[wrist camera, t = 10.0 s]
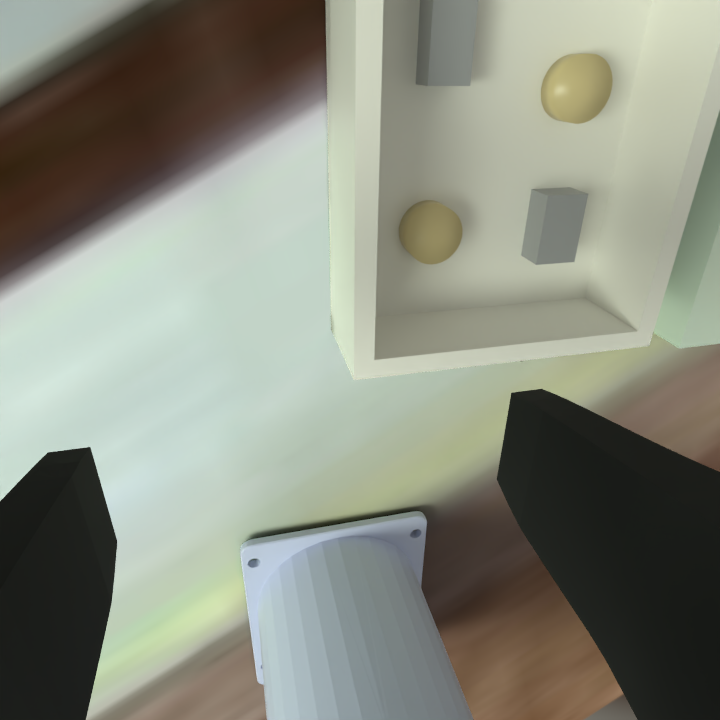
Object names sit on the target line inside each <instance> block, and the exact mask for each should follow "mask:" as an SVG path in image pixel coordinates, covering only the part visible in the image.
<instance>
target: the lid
mask: <svg viewBox="0 0 720 720" xmlns="http://www.w3.org/2000/svg"><path fill="white" fill-rule="evenodd" d="M653 333H655V334H656V335H658V336H660V337H661V338H663V339H665V340H666V341H668V342H669V343H671V344H673V345H674V346H676V347H677V348H687V347H696V346H704V345H712V344H720V110H719V114H718V117H717V120H716V124H715V127H714V130H713V134H712V137H711V140H710V144H709V147H708V151H707V154H706V157H705V161H704V164H703V167H702V171H701V174H700V177H699V181H698V184H697V187H696V191H695V194H694V198H693V201H692V204H691V208H690V211H689V214H688V218H687V221H686V224H685V228H684V231H683V234H682V238H681V241H680V245H679V248H678V251H677V255H676V258H675V261H674V265H673V268H672V271H671V275H670V278H669V281H668V285H667V288H666V292H665V295H664V298H663V302H662V305H661V308H660V312H659V315H658V318H657V322H656V325H655V328H654V332H653Z"/></svg>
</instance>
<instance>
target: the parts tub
mask: <svg viewBox="0 0 720 720" xmlns="http://www.w3.org/2000/svg"><path fill="white" fill-rule="evenodd" d="M325 2H326V60H327V118H328V176H329V234H330V291H331V330H332V332H333V335H334V337H335V339H336V341H337V344H338V346H339V348H340V350H341V352H342V355H343V357H344V359H345V361H346V364H347V366H348V368H349V370H350V372H351V375H352V377H353V379H354V380H360V379H369V378H377V377H386V376H395V375H403V374H412V373H421V372H429V371H438V370H446V369H455V368H464V367H472V366H481V365H490V364H498V363H507V362H516V361H524V360H533V359H542V358H550V357H559V356H567V355H576V354H585V353H593V352H602V351H611V350H619V349H628V348H637V347H645V346H649V345H650V342H651V339H652V335H653V332H654V328H655V325H656V322H657V318H658V315H659V312H660V308H661V305H662V302H663V298H664V295H665V292H666V288H667V285H668V281H669V278H670V275H671V271H672V268H673V265H674V261H675V258H676V255H677V251H678V248H679V245H680V241H681V238H682V234H683V231H684V228H685V224H686V221H687V218H688V214H689V211H690V208H691V204H692V201H693V198H694V194H695V191H696V187H697V184H698V181H699V177H700V174H701V171H702V167H703V164H704V161H705V157H706V154H707V151H708V147H709V144H710V140H711V137H712V134H713V130H714V127H715V124H716V120H717V117H718V114H719V110H720V0H325Z"/></svg>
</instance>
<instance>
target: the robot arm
mask: <svg viewBox="0 0 720 720" xmlns="http://www.w3.org/2000/svg"><path fill="white" fill-rule="evenodd" d="M497 480H498V483H499V485H500V487H501V489H502V491H503V494H504V496H505V498H506V500H507V502H508V504H509V507H510V508H511V510H512V512H513V514H514V516H515V518H516V520H517V522H518V524H519V526H520V528H521V530H522V531H523V533H524V534H525V536H526V538H527V539H528V541H529V542H530V544H531V545H532V547H533V548H534V550H535V551H536V553H537V555H538V556H539V558H540V559H541V561H542V562H543V564H544V565H545V567H546V568H547V570H548V571H549V573H550V574H551V576H552V577H553V579H554V580H555V582H556V583H557V585H558V586H559V588H560V589H561V591H562V593H563V594H564V596H565V597H566V599H567V600H568V602H569V603H570V605H571V606H572V608H573V609H574V611H575V612H576V614H577V615H578V617H579V618H580V620H581V621H582V623H583V624H584V626H585V627H586V629H587V630H588V632H589V633H590V635H591V636H592V638H593V640H594V641H595V643H596V645H597V646H598V648H599V650H600V651H601V653H602V655H603V656H604V658H605V660H606V661H607V663H608V665H609V667H610V669H611V671H612V672H613V674H614V676H615V678H616V680H617V682H618V684H619V686H620V687H621V689H622V691H623V693H624V695H625V697H626V699H627V700H628V702H629V704H630V706H631V708H632V710H633V712H634V714H635V715H636V717H637V719H638V720H720V472H718V471H716V470H714V469H711V468H709V467H707V466H705V465H702V464H700V463H698V462H695V461H693V460H691V459H689V458H686V457H684V456H682V455H680V454H678V453H676V452H674V451H671V450H669V449H667V448H665V447H663V446H661V445H659V444H657V443H654V442H652V441H650V440H648V439H646V438H644V437H642V436H640V435H638V434H636V433H634V432H632V431H630V430H628V429H626V428H624V427H622V426H620V425H618V424H616V423H614V422H612V421H610V420H608V419H606V418H604V417H602V416H600V415H598V414H596V413H594V412H592V411H590V410H587V409H585V408H583V407H581V406H579V405H577V404H575V403H573V402H571V401H569V400H567V399H564V398H562V397H560V396H558V395H555V394H553V393H551V392H548V391H545V390H543V389H538V390H530V391H522V392H515V393H511V399H510V405H509V411H508V417H507V423H506V429H505V434H504V440H503V446H502V452H501V458H500V464H499V470H498V476H497ZM416 529H417V530H416ZM426 529H427V520H426V518H425V515H424V514H423V513H422V512H420V511H413V512H407V513H401V514H396V515H390V516H384V517H378V518H372V519H367V520H361V521H355V522H349V523H343V524H337V525H332V526H326V527H320V528H314V529H308V530H302V531H297V532H291V533H285V534H279V535H273V536H268V537H262V538H256V539H251V540H248V541H246V542H244V543H243V544H242V545H241V547H240V556H241V563H242V571H243V578H244V586H245V593H246V600H247V608H248V615H249V622H250V630H251V637H252V644H253V652H254V659H255V667H256V674H257V681H258V682H259V683H260V684H263V685H264V692H265V703H266V714H267V720H474V719H473V717H472V714H471V712H470V709H469V707H468V704H467V702H466V699H465V697H464V694H463V692H462V689H461V687H460V684H459V682H458V679H457V677H456V674H455V672H454V669H453V667H452V664H451V662H450V659H449V657H448V654H447V652H446V649H445V647H444V644H443V642H442V639H441V637H440V634H439V632H438V629H437V627H436V624H435V622H434V619H433V617H432V614H431V612H430V609H429V607H428V604H427V602H426V599H425V597H424V594H423V592H422V589H421V582H422V571H423V561H424V550H425V539H426ZM413 530H416V531H413ZM412 531H413V532H412ZM116 549H117V539H116V536H115V532H114V529H113V525H112V522H111V518H110V515H109V511H108V508H107V504H106V501H105V497H104V494H103V490H102V487H101V483H100V480H99V476H98V473H97V469H96V466H95V462H94V459H93V455H92V452H91V448H90V447H88V448H80V449H72V450H64V451H57V452H49V453H47V454H46V455H45V456H44V457H43V458H42V459H41V460H40V461H39V462H38V463H37V464H36V465H35V466H34V467H33V468H32V469H31V470H30V471H29V472H28V473H27V474H26V475H25V476H24V477H23V478H22V479H21V480H20V481H19V482H18V483H17V484H16V485H15V487H14V488H13V489H12V490H11V491H10V492H9V493H8V494H7V495H6V496H5V497H4V498H3V499H2V500H1V501H0V720H86V716H87V711H88V707H89V703H90V698H91V694H92V689H93V685H94V680H95V676H96V671H97V667H98V662H99V658H100V654H101V649H102V644H103V640H104V635H105V631H106V626H107V621H108V617H109V612H110V607H111V602H112V593H113V583H114V573H115V561H116ZM251 559H256V560H251Z"/></svg>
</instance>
